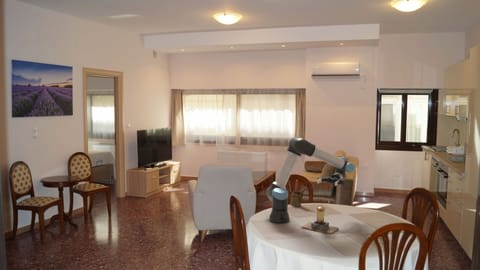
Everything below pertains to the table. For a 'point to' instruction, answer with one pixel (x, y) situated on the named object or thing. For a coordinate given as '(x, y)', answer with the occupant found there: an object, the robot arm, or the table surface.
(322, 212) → the brass fitting
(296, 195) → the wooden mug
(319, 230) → the wooden board with frame
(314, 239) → the table surface
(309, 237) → the table surface
